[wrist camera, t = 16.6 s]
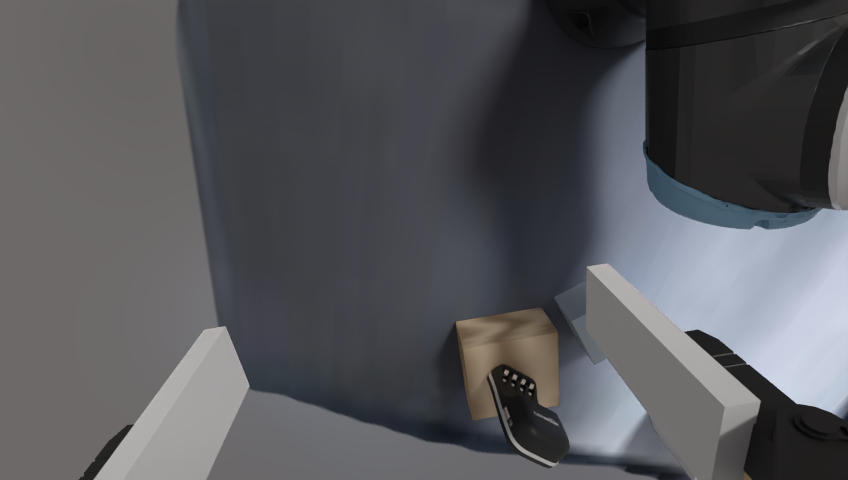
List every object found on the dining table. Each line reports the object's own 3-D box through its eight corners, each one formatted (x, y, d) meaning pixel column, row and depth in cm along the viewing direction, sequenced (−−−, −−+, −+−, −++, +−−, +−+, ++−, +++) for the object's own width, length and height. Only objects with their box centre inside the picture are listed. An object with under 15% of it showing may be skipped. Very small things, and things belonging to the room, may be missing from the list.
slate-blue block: (606, 268, 55) (630, 290, 49) (625, 310, 58) (651, 335, 52) (553, 296, 56) (571, 321, 50) (574, 337, 59) (594, 364, 53)
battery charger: (542, 377, 53) (581, 452, 43) (524, 397, 54) (557, 475, 44) (501, 354, 51) (531, 427, 41) (483, 375, 52) (507, 452, 42)
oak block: (541, 306, 56) (558, 332, 51) (543, 375, 61) (559, 405, 55) (455, 321, 56) (463, 348, 50) (464, 388, 60) (472, 420, 55)
